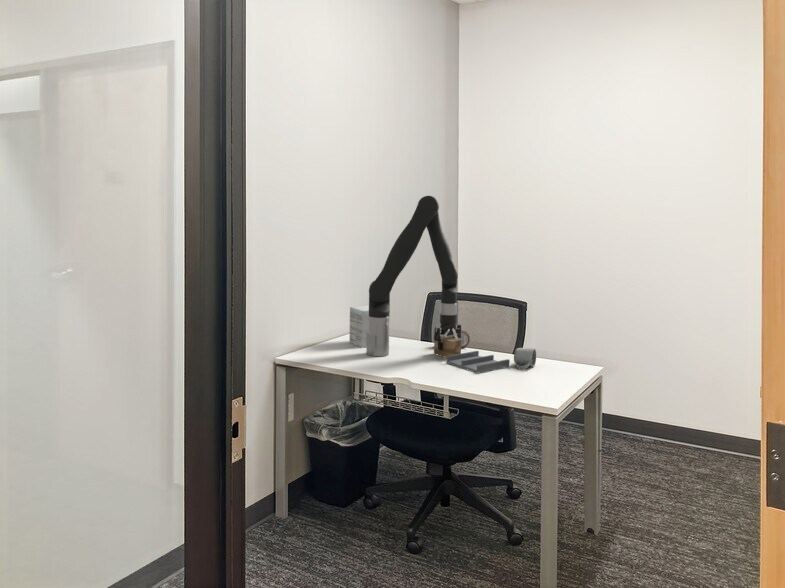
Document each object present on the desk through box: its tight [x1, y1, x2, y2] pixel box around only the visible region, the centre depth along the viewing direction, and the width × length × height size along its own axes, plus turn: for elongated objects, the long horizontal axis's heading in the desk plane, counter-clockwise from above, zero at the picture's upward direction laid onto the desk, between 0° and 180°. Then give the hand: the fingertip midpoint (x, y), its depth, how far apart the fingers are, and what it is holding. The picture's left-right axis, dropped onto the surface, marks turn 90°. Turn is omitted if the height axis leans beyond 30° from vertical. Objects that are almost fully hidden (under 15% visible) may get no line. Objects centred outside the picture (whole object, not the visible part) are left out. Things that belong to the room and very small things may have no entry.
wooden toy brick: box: [433, 336, 462, 358], centre depth 273 cm, size 5×12×8 cm, turn 38°
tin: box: [442, 329, 471, 349], centre depth 290 cm, size 15×3×8 cm, turn 84°
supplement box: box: [348, 305, 369, 348], centre depth 293 cm, size 13×13×18 cm
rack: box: [446, 350, 510, 374], centre depth 258 cm, size 18×19×3 cm
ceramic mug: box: [513, 347, 537, 370], centre depth 257 cm, size 11×8×8 cm
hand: (447, 349), depth 273 cm, fingers open, 8 cm apart
